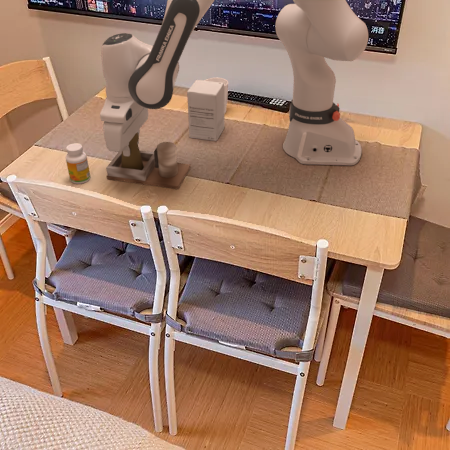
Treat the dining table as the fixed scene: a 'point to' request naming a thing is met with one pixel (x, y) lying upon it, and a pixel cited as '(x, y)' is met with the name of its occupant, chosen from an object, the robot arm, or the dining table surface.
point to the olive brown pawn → (133, 156)
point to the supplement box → (206, 110)
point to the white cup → (224, 89)
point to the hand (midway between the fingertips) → (131, 150)
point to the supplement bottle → (77, 164)
